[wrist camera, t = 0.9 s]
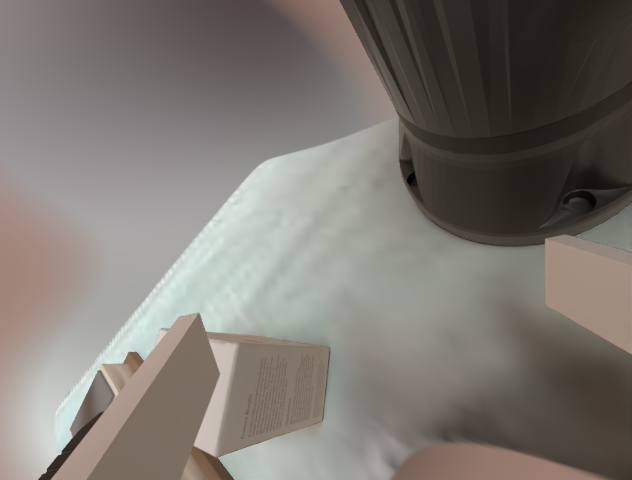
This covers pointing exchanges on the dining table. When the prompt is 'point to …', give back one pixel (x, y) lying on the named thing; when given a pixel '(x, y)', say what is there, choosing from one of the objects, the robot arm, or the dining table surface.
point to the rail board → (201, 469)
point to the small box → (260, 390)
